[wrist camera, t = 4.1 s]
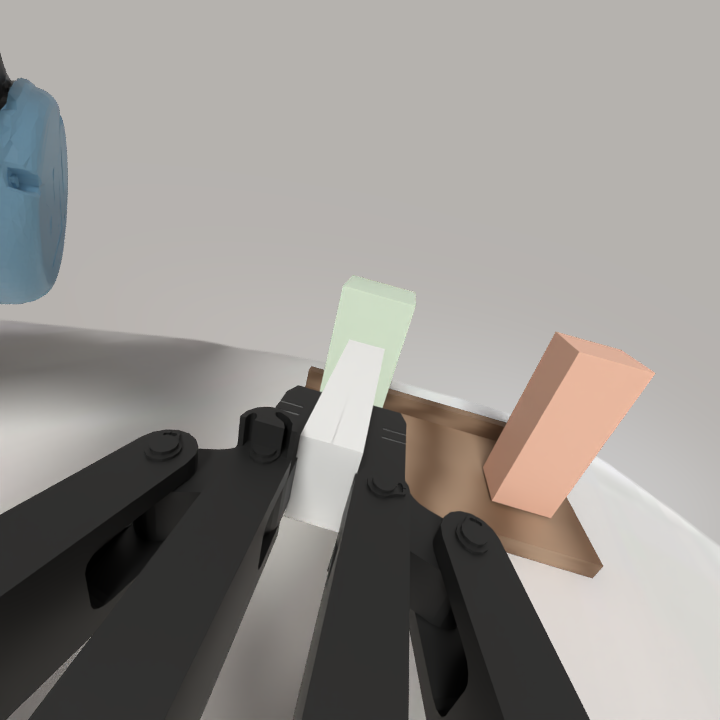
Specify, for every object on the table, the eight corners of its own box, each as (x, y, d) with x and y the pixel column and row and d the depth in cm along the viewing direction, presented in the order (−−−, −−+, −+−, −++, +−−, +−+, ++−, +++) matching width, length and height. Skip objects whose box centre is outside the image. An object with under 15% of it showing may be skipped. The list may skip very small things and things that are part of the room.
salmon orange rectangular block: (491, 500, 28) (579, 351, 22) (482, 465, 32) (554, 330, 26) (550, 518, 28) (655, 373, 22) (534, 480, 31) (619, 348, 25)
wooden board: (256, 476, 26) (261, 442, 25) (309, 386, 40) (315, 360, 38) (592, 578, 26) (618, 549, 24) (530, 450, 39) (544, 427, 38)
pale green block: (307, 446, 28) (343, 285, 22) (320, 417, 32) (353, 274, 26) (364, 462, 28) (415, 306, 22) (370, 432, 32) (415, 291, 26)
